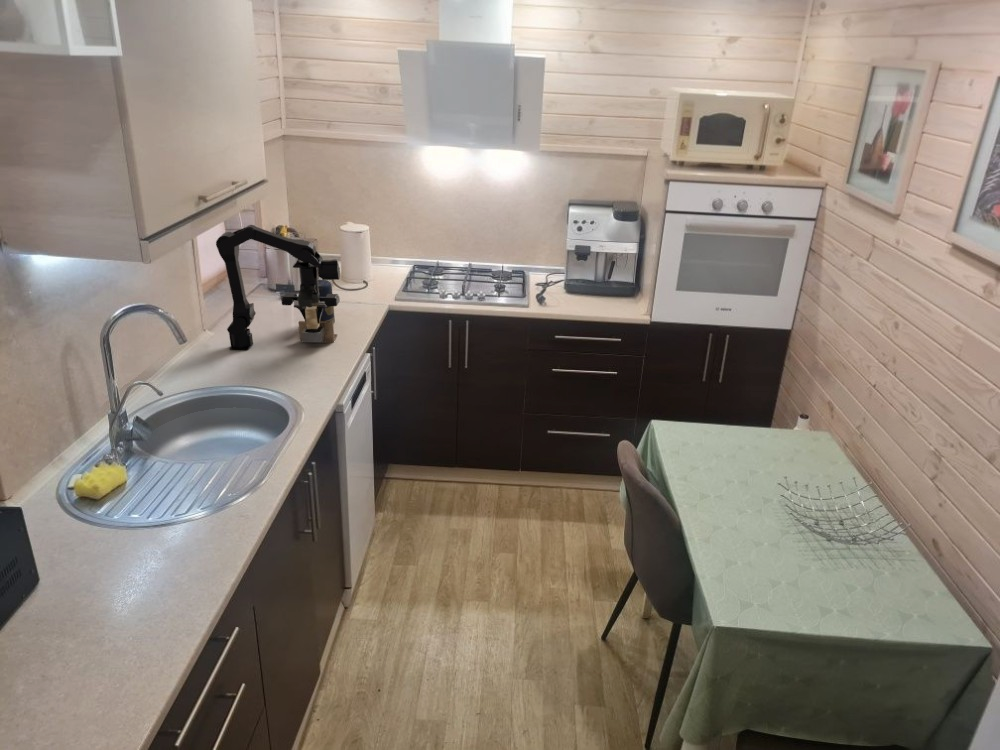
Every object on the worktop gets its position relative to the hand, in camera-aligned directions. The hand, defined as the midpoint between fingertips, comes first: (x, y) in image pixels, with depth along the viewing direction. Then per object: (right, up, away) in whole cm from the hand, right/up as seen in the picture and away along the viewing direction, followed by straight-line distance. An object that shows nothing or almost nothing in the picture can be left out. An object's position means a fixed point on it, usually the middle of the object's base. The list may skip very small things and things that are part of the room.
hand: (312, 323), depth 244 cm
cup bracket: (0, -6, +6) cm, 9 cm away
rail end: (0, -1, +1) cm, 2 cm away
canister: (-2, +1, +22) cm, 22 cm away
